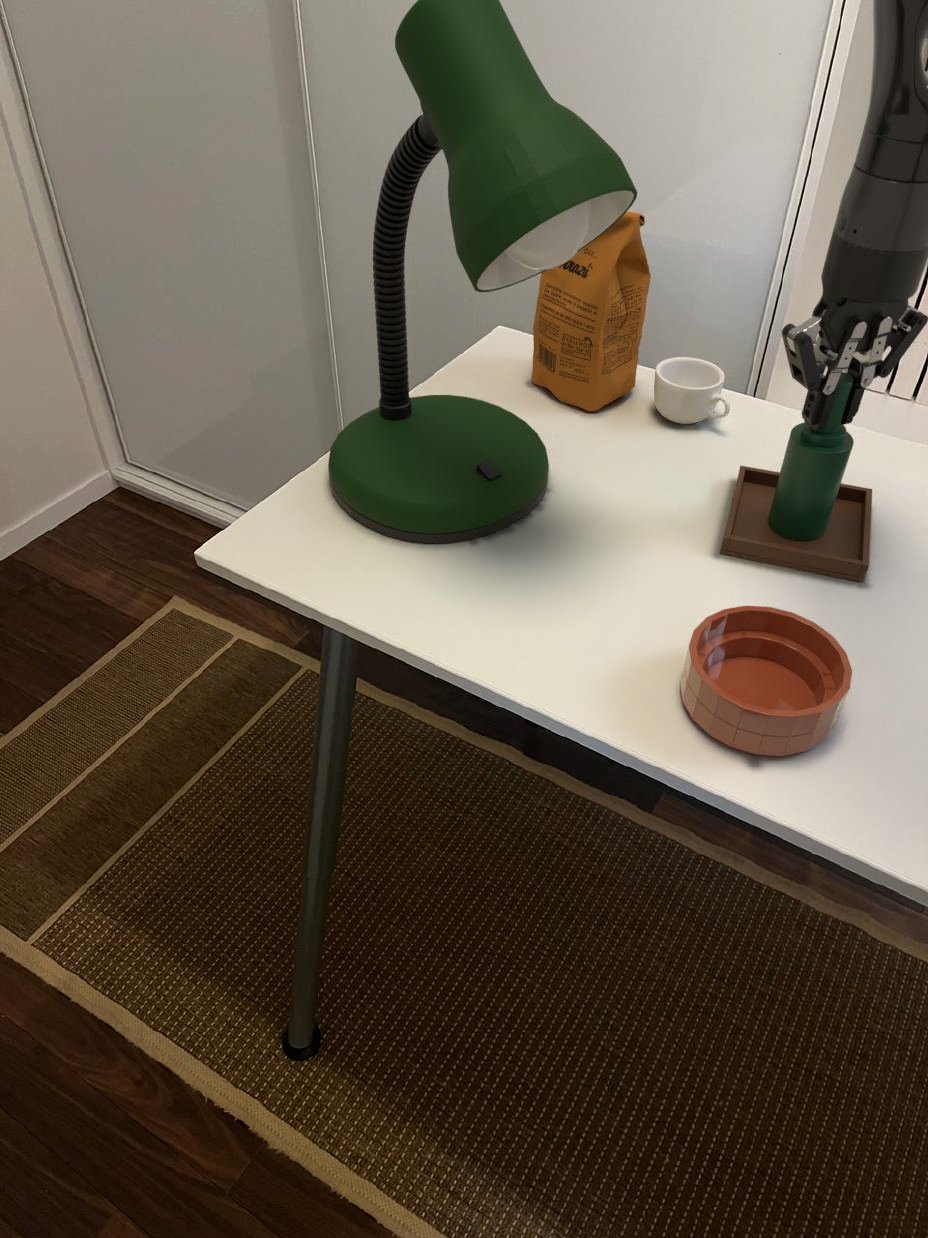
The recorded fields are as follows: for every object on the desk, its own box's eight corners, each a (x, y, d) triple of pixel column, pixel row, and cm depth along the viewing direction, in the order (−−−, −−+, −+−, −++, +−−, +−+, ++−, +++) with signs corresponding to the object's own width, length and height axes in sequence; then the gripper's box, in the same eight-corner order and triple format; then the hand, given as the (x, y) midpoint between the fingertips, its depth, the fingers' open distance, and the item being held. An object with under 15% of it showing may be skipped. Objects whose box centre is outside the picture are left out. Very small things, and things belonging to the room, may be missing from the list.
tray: (866, 505, 97) (872, 488, 95) (862, 582, 87) (869, 565, 86) (736, 481, 100) (740, 465, 99) (719, 553, 91) (723, 536, 89)
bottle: (834, 522, 94) (883, 375, 83) (810, 548, 90) (857, 399, 80) (782, 501, 96) (823, 356, 86) (757, 526, 93) (795, 378, 82)
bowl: (859, 695, 77) (877, 651, 73) (792, 786, 70) (809, 742, 67) (725, 629, 83) (736, 586, 79) (651, 708, 76) (660, 663, 72)
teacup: (635, 411, 111) (641, 369, 107) (679, 391, 114) (686, 350, 111) (701, 447, 105) (709, 403, 101) (744, 425, 108) (754, 382, 105)
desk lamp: (648, 521, 95) (736, -12, 64) (478, 617, 84) (488, 31, 54) (452, 403, 112) (450, -60, 82) (291, 470, 101) (220, -34, 71)
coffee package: (576, 356, 121) (592, 176, 106) (646, 394, 114) (673, 206, 99) (517, 379, 117) (525, 194, 102) (586, 420, 109) (605, 226, 94)
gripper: (839, 257, 70) (785, 457, 81) (989, 234, 73) (917, 429, 85) (781, 223, 75) (738, 416, 86) (923, 203, 78) (864, 391, 90)
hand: (827, 421), depth 86 cm, fingers closed on bottle, 2 cm apart
